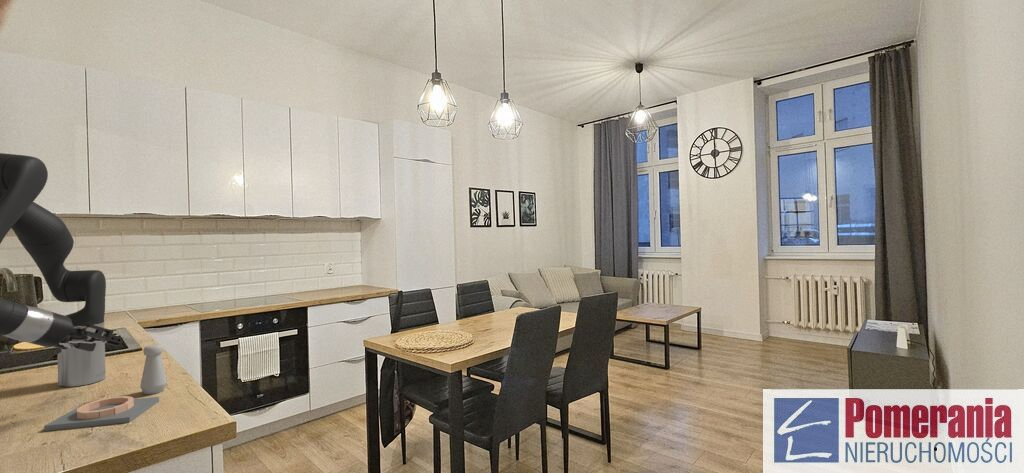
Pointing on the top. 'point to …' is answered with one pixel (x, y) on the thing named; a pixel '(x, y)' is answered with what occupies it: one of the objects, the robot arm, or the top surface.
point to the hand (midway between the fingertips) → (107, 345)
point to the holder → (103, 413)
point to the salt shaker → (153, 370)
